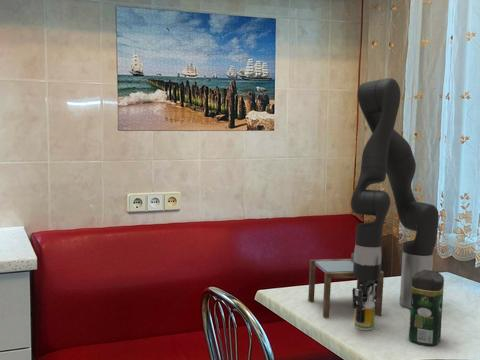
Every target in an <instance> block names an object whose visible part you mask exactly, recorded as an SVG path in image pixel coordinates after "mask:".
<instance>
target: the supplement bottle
mask: <svg viewBox="0 0 480 360" xmlns="http://www.w3.org/2000/svg"><path fill="white" fill-rule="evenodd" d="M363 298H366V297H363ZM372 300H373V294H370V295H369V300H368V302H367V303H366V307H365V321H364V322H363V323H360V322H357V321H356V312H357V309H356V308H354V321H353V322H354V327H355V328H356V329H357V330H360V331H371V330H373V329H374V326H375V303H374V302H373V301H372ZM359 305H360V304H359Z"/></svg>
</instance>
